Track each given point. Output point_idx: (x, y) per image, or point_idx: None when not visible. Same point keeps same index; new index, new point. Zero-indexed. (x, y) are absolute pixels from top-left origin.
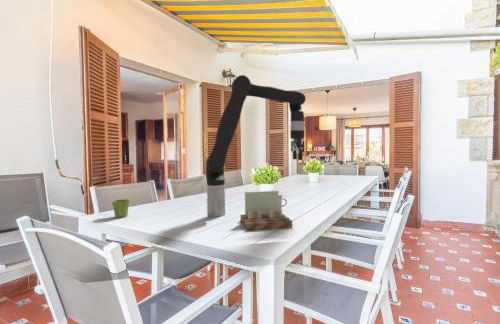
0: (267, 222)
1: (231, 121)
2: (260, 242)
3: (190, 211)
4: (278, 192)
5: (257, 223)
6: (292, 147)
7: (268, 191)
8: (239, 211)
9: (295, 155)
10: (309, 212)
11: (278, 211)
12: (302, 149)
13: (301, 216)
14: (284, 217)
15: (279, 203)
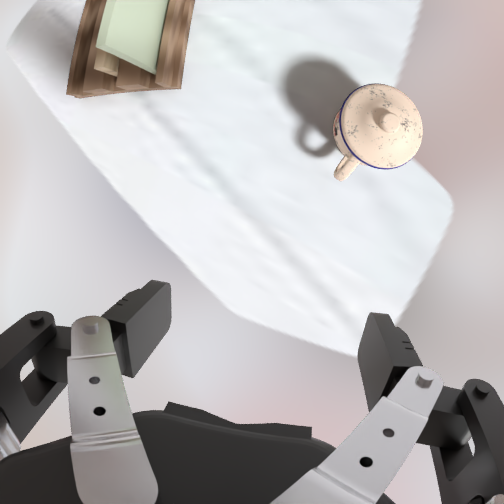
0: (79, 29)
1: None
2: (52, 24)
3: None
4: (99, 48)
5: (86, 7)
6: (398, 426)
7: (105, 7)
8: (386, 9)
9: (370, 370)
10: (271, 251)
11: (97, 57)
12: (34, 366)
13: (219, 187)
14: (97, 78)
15: (340, 141)
